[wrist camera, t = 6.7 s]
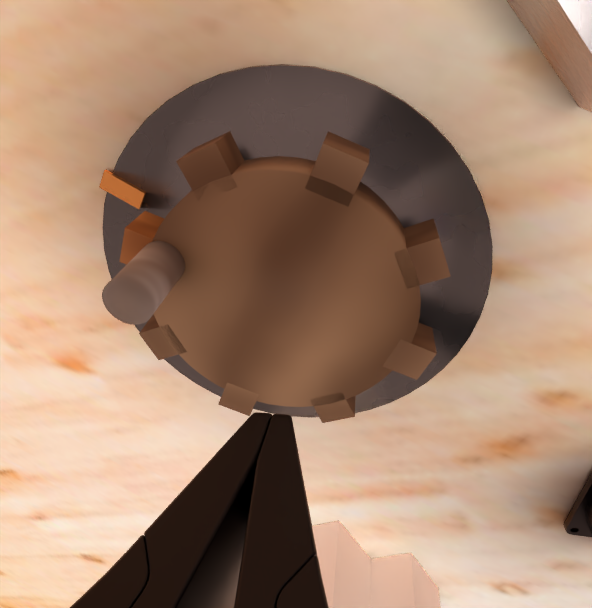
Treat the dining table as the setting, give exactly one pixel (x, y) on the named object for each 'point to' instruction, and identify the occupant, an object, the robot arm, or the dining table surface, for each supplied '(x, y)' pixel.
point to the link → (563, 40)
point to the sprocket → (281, 279)
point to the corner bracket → (369, 574)
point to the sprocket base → (307, 144)
